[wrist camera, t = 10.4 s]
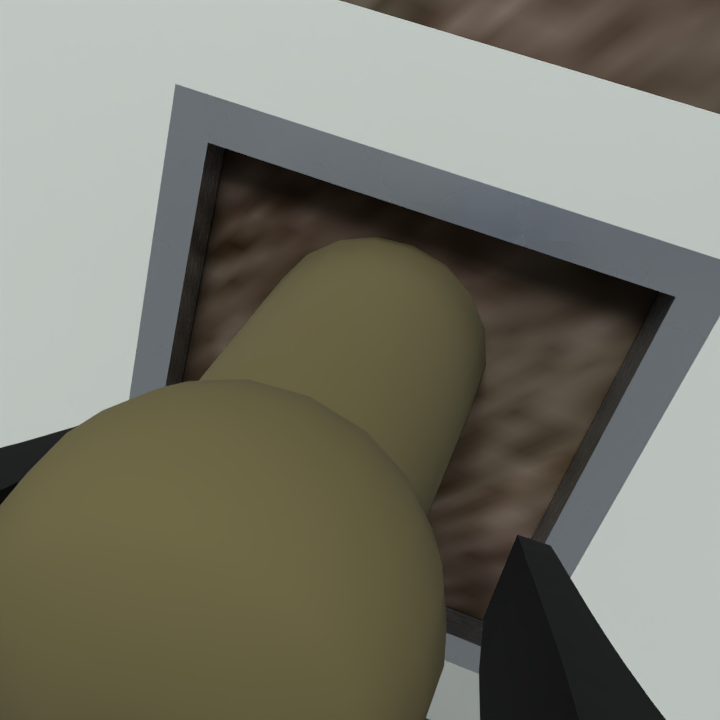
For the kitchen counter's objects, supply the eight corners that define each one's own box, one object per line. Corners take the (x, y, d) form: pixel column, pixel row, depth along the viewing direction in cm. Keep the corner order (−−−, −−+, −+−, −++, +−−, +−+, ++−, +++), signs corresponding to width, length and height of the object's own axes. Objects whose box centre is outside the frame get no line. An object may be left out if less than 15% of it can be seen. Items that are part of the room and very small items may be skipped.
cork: (385, 490, 16) (226, 1022, 6) (223, 357, 16) (-220, 696, 6) (537, 343, 14) (667, 813, 4) (352, 184, 14) (-17, 262, 4)
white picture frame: (1071, 229, 11) (1123, 235, 10) (644, 778, 18) (652, 811, 17) (0, -93, 13) (-36, -112, 12) (-20, 507, 20) (-45, 524, 19)
